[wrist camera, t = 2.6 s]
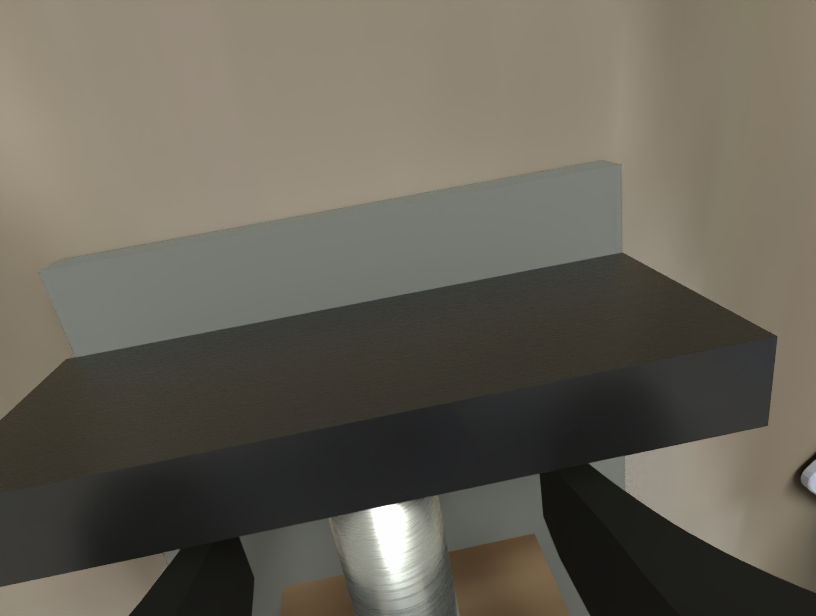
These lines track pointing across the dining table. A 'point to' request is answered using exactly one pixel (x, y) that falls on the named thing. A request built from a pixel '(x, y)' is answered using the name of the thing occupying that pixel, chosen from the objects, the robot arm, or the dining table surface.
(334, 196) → the dining table surface
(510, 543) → the bearing block
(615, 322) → the grey and silver t-piece
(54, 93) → the dining table surface
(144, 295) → the mat
